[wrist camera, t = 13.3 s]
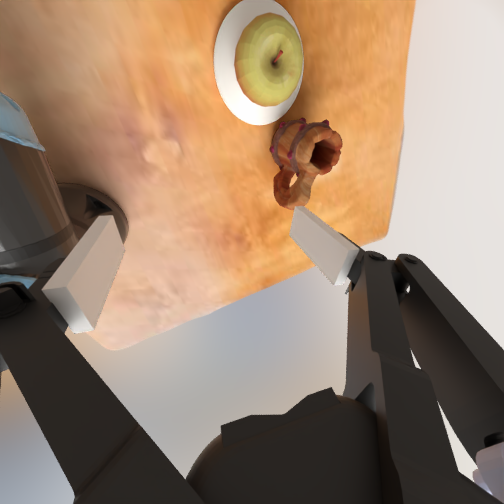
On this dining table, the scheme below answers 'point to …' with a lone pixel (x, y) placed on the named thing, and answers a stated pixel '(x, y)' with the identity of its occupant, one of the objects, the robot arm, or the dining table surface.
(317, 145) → the mug
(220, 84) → the plate
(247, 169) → the dining table surface
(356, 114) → the dining table surface
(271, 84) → the apple
